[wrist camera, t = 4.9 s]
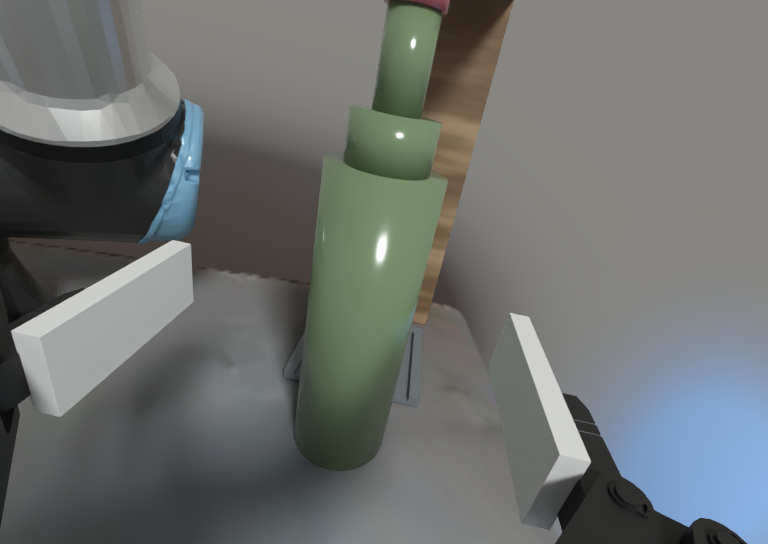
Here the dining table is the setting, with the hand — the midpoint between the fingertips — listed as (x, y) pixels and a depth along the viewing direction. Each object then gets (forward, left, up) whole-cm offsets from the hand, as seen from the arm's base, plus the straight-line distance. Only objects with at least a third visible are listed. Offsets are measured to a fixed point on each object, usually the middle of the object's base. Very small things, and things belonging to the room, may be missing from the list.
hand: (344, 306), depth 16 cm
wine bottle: (-5, +8, -18) cm, 20 cm away
